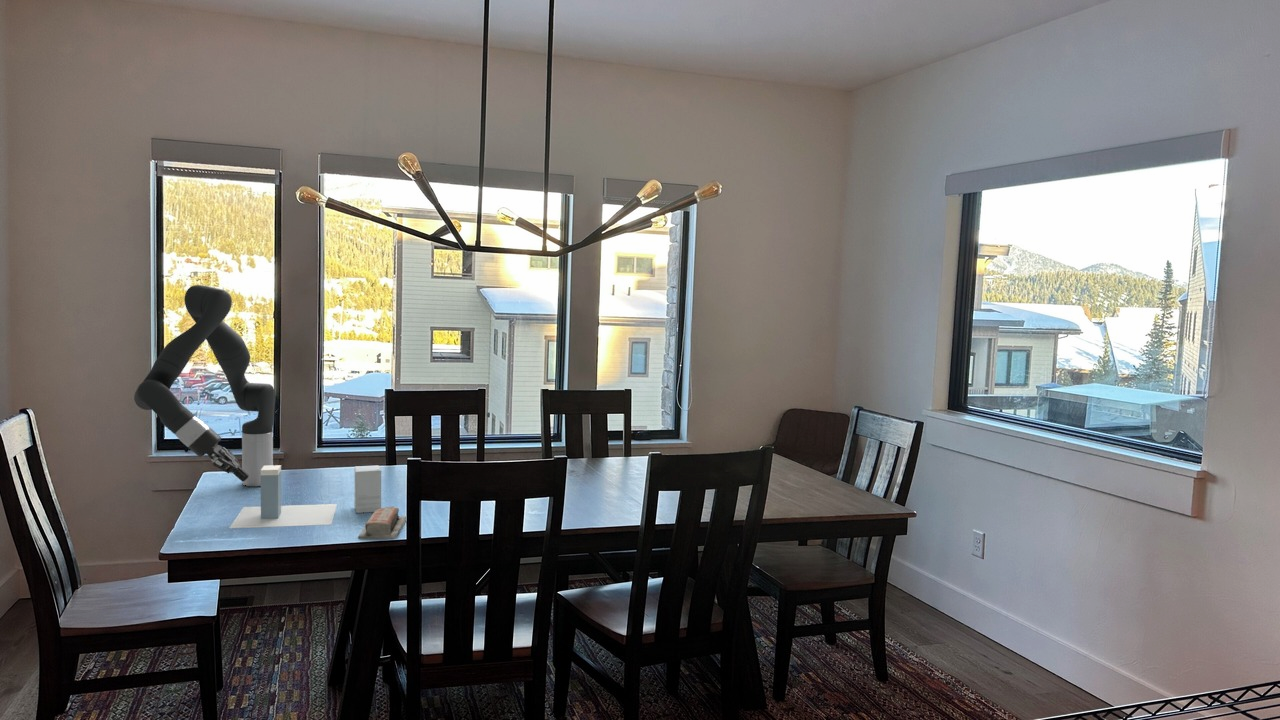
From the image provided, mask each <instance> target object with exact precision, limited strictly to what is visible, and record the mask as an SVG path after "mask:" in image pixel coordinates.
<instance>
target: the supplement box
mask: <svg viewBox="0 0 1280 720" xmlns="http://www.w3.org/2000/svg"><path fill="white" fill-rule="evenodd" d="M381 508H382V470H381V467H380V465H375V464H374V465H359V466H357V465H356V466H354V509H355V510H354V511H355V513H356V514H363V512H364V513H374V511H375V510H378V509H381Z"/></svg>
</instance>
